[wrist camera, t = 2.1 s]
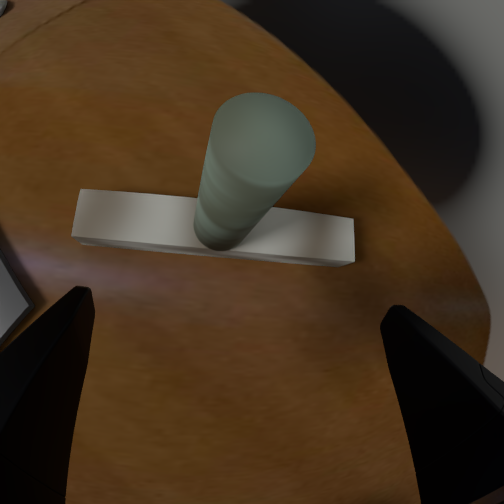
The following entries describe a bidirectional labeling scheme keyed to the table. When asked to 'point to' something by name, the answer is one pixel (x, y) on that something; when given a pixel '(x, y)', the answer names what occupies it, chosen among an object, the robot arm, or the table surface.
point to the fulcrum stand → (11, 300)
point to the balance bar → (229, 197)
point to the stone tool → (2, 6)
